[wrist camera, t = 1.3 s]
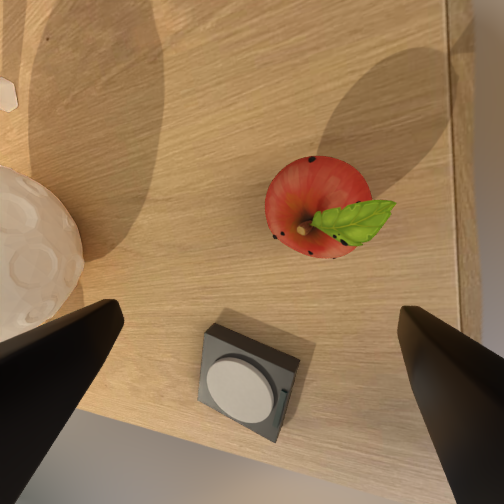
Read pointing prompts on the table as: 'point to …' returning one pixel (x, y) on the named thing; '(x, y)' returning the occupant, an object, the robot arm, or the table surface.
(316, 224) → the spotted red fruit
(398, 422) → the table surface
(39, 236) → the decorative sphere
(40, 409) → the robot arm
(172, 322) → the table surface
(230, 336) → the scale
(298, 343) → the table surface
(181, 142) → the table surface
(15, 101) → the white faceted vase
